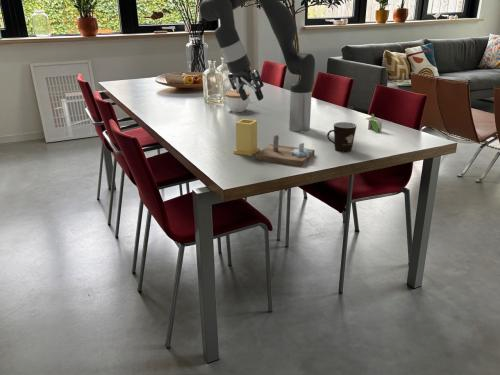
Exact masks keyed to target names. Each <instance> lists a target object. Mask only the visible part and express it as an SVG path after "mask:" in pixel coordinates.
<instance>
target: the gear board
mask: <svg viewBox="0 0 500 375" xmlns="http://www.w3.org/2000/svg"><path fill="white" fill-rule="evenodd" d="M272 140H273V144H271V143H270V144H269V145H268V146H267V145H266V147H265V148H263V149H262V150H259V151H258V152H257V153H255V160H257V161H261V162H262V161H263V162H269V163H275V164H276V163H277V164H282V165H283V164H284V165H289V166H296V167H304V166H305V165H306V164H307V163H308V162H309V161H310V160H311V159H312V158H313V157H314V156H315V152H316V151H315V150H316V149H310V148H306V149H307V150H309V151H312V154H310V155H309V157H299V158H298V157H296V156H294V155H291V151H293V149H299V147H294V146H287V145H279V134H273V139H272Z"/></svg>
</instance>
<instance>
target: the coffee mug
mask: <svg viewBox="0 0 500 375" xmlns="http://www.w3.org/2000/svg"><path fill="white" fill-rule="evenodd" d="M356 131H357V124H356V123H354V122H353V123H352V122H348V121H347V122H346V121H340V122H334V123H333V129H330V130H329V131H328V132H327V135H326V137H327V140H329V142H331V143H332V144H334V151H336V152H338V153H350V152H352V149H353V144H354V141H355V140H354V139H355V135H356ZM331 133H333V137H334V140H332V139H331V138H330V134H331Z"/></svg>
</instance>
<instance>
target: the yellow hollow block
mask: <svg viewBox="0 0 500 375" xmlns="http://www.w3.org/2000/svg"><path fill="white" fill-rule="evenodd" d="M235 147H236V148H235V149H233V154H234V155H243V156H248V157H252V156H254V155H256V154H257V153H259V152H260V151H261V149H260V148H261V147H260V146H259V147H258V120H256V119H248V118H242V119H240V120H238V121H236V122H235Z"/></svg>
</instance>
